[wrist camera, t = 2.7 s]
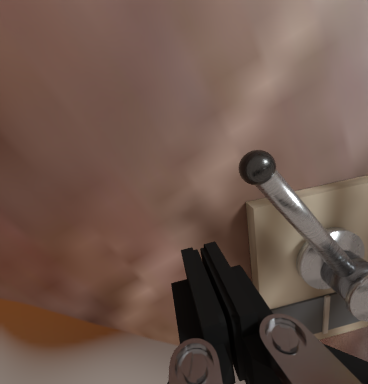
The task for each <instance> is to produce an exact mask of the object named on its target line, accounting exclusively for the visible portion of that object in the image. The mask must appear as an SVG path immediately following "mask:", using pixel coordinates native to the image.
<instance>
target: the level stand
mask: <svg viewBox="0 0 368 384" xmlns="http://www.w3.org/2000/svg"><path fill="white" fill-rule="evenodd" d="M294 192H295V193H296V194H297V195H298V196H299V198H300V199H301V200H302V201H303V202H304V204H305V205H306V206H307V207H308V208H309V210H310V211H311V212H312V213H313V214H314V216H315V217H316V218H317V219H318V221H319V222H320V223H321V224H322V225H323V227H324V228H325V229H326V228H330V227H341V228H345V229H347V230H349V231H350V232H352V233H354V234H356V235H357V236H359V237H360V238H361V240H362V241H363V244H364V250H365V252H364V258H363V259H364V260H366V261H367V262H368V175H366V176H362V177H357V178H353V179H348V180H344V181H339V182H335V183H330V184H326V185H321V186H317V187H312V188H307V189H303V190H298V191H294ZM246 211H247V223H248V235H249V247H250V259H251V271H252V283H253V285H254V286H255V287H256V289H257V290H258V292H259V293H260V295H261V296H262V298H263V299H264V301H265V302H266V304H267V305H268V307H269V308H270V309H271V311H272V312H273V314H285V315H289V316H291V317H293V318H295V319H297V320H298V321H300V322H301V323H302V324H303V325H304V326H305V327H306V328H307V329H308V330H309V331H310V332H311V333H312V334H313V335H314V336H315V337H316V338H317V339H318V340H321V339H324V338H328V337H331V336H335V335H338V334H342V333H345V332H349V331H352V330H356V329H360V328H363V327H367V326H368V322H367V321H361V320H359V319H357V318H356V317H355V316H354V315H353V314H352V313H351V312H349V311H348V309H347V308H346V305H345V300H344V299H343V298H342V297H341V296H340V295H338V294H337V293H336V292H335V291H334V290H333V289H332V288H330V289H316V288H313V287H311V286H310V285H308V284H307V283H306V282H305V281H304V280H303V279H302V278H301V277H300V275H299V274H298V272H297V268H296V259H297V255H298V253H299V251H300V249H301V247H302V246H303V244H304V243H305V242H306V241H305V240H304V239H303V238H302V236H301V235H300V234H299V233H298V232H297V231H296V230H295V229H294V228H293V227H292V225H291V224H290V223H289V222H288V221H287V220H286V219H285V218H284V217H283V216H282V214H281V213H280V212H279V211H278V210H277V209H276V208H275V207H274V206H273V205H272V203H271V202H270V201H269V200H268V199H267V198H262V199H258V200H253V201H249V202H246Z"/></svg>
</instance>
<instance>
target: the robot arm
mask: <svg viewBox="0 0 368 384" xmlns="http://www.w3.org/2000/svg"><path fill="white" fill-rule="evenodd" d="M200 250H201V256H202V260H201V257H200V255H199V252H198V250H197V249H196V250H193V248H188V249H184V250H181V253H182V258H183V262H184V267H185V272H186V276H187V279H186V280H182V281H178V282H174V283H171V285H172V292H173V299H174V306H175V312H176V319H177V326H178V333H179V340H180V345H179V346H178V347H177V348H176V349H175V350H174V353H173V355H172V357H171V360H170V366H169V381H168V383H167V384H234V383H235V376H234V369H233V365H234V368H235V370H236V373H237V376H238V379H239V381H242V380H245V382H246V384H368V362H367V361H364V360H362V359H359V358H357V357H354V356H352V355H349V354H347V353H345V352H342V351H340V350H337V349H335V348H332V347H330V346H327V345H325V344H322V343H321V342H320V341H319V340H318V339H317V338H316V337H315V336H314V335H313V334H312V333H311V332H310V331H309V330H308V329H307V328H306V327H305V326H304V325H303V324H302V323H301V322H300V321H298V320H297V319H295V318H293V317H291V316H289V315H285V314H273V312H272V311H271V309H270V308H269V307H268V305H267V304H266V302H265V301H264V299H263V298H262V296H261V295H260V293H259V292H258V290H257V289H256V287H255V286H254V285H253V283H252V282H251V280H250V279H249V277H248V276H247V274H246V273H245V271H244V270H243V268H242V267H241V266H240V265H238V266H234V267H230V265H229V264H228V262H227V260H226V259H225V257H224V255H223V254H222V252H221V250H220V249H219V247H218V245H217V244H216V242H211V243H207V244H204V248H201V249H200ZM232 362H233V363H232Z"/></svg>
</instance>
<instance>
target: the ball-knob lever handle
mask: <svg viewBox="0 0 368 384" xmlns="http://www.w3.org/2000/svg"><path fill="white" fill-rule="evenodd" d="M239 173H240V176H241V177H242V179H243V180H244V181H245V182H247V183H249V184H252V185H255V186H256V187H257V188H258V189H259V190H260V191H261V192H262V194H263V195H264V196H265V197H266V198H267V199H268V200H269V201H270V202H271V203H272V205H273V206H274V207H275V208H276V209H277V210H278V211H279V212H280V213H281V214H282V216H283V217H284V218H285V219H286V220H287V221H288V222H289V223H290V224H291V225H292V227H293V228H294V229H295V230H296V231H297V232H298V233H299V234H300V235H301V236H302V238H303V239H304V240H305V241H306V242H305V243H304V244H303V246H302V247H301V249H300V251H299V253H298V255H297V259H296V268H297V272H298V274H299V275H300V277H301V278H302V279H303V280H304V281H305V282H306V283H307V284H308V285H310V286H311V287H313V288H316V289H330V288H332V289H333V290H334V291H335V292H336V293H337V294H338V295H340V296H341V297H342V298H343V299H344V300H345V305H346V308H347V309H348V311H349V312H351V313H352V314H353V315H354V316H355V317H356V318H357V319H359V320H361V321H367V322H368V262H367V261H366V260H364V259H363V258H364V252H365V250H364V244H363V241H362V240H361V238H360V237H359V236H357V235H356V234H354V233H352V232H350V231H349V230H347V229H345V228H341V227H330V228H326V229H325V228H324V227H323V225H322V224H321V223H320V222H319V221H318V219H317V218H316V217H315V216H314V214H313V213H312V212H311V211H310V210H309V208H308V207H307V206H306V205H305V204H304V202H303V201H302V200H301V199H300V198H299V196H298V195H297V194H296V193H295V192H294V190H293V189H292V188H291V187H290V186H289V184H288V183H287V182H286V181H285V180H284V178H283V177H282V176H281V175H280V174H279V172H278V171H277V170H276V163H275V160H274V158H273V157H272V156H271V155H270V154H269V153H268V152H265V151H262V150H254V151H251V152H249V153H247V154H246V155H244V156H243V158H242V159H241V161H240V164H239Z"/></svg>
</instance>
